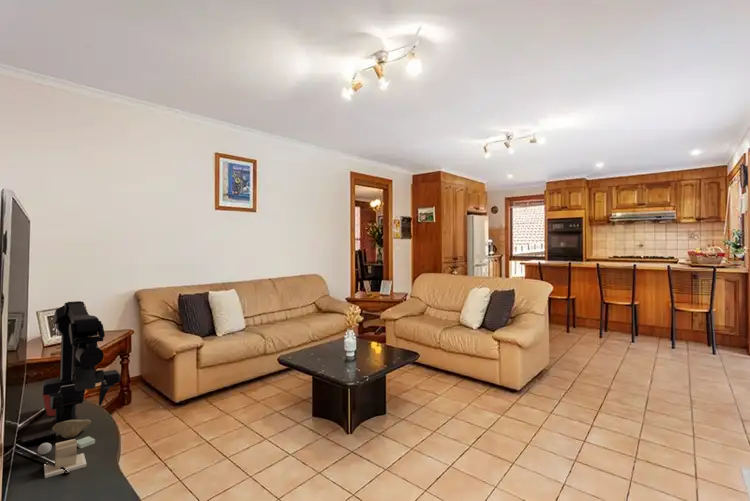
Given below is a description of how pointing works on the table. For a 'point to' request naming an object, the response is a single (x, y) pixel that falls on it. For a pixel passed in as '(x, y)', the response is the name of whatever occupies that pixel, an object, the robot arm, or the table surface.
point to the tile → (85, 442)
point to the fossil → (71, 427)
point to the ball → (44, 448)
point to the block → (65, 453)
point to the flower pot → (48, 405)
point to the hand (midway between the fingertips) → (81, 409)
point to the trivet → (51, 470)
